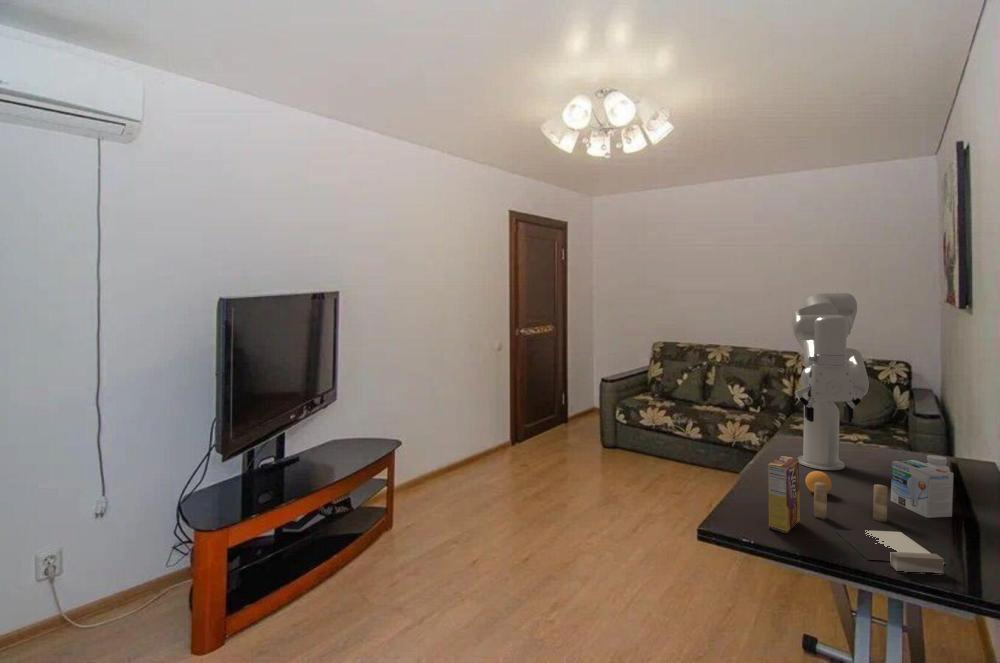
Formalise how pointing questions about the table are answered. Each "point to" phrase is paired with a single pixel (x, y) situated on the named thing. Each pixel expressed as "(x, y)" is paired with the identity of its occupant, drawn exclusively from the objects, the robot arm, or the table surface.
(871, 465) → the table surface
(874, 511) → the post
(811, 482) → the ball
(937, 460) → the supplement bottle
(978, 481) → the table surface
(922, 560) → the stopper wall
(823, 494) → the post
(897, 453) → the table surface
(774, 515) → the candy box
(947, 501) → the light bulb box
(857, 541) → the table surface
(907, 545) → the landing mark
